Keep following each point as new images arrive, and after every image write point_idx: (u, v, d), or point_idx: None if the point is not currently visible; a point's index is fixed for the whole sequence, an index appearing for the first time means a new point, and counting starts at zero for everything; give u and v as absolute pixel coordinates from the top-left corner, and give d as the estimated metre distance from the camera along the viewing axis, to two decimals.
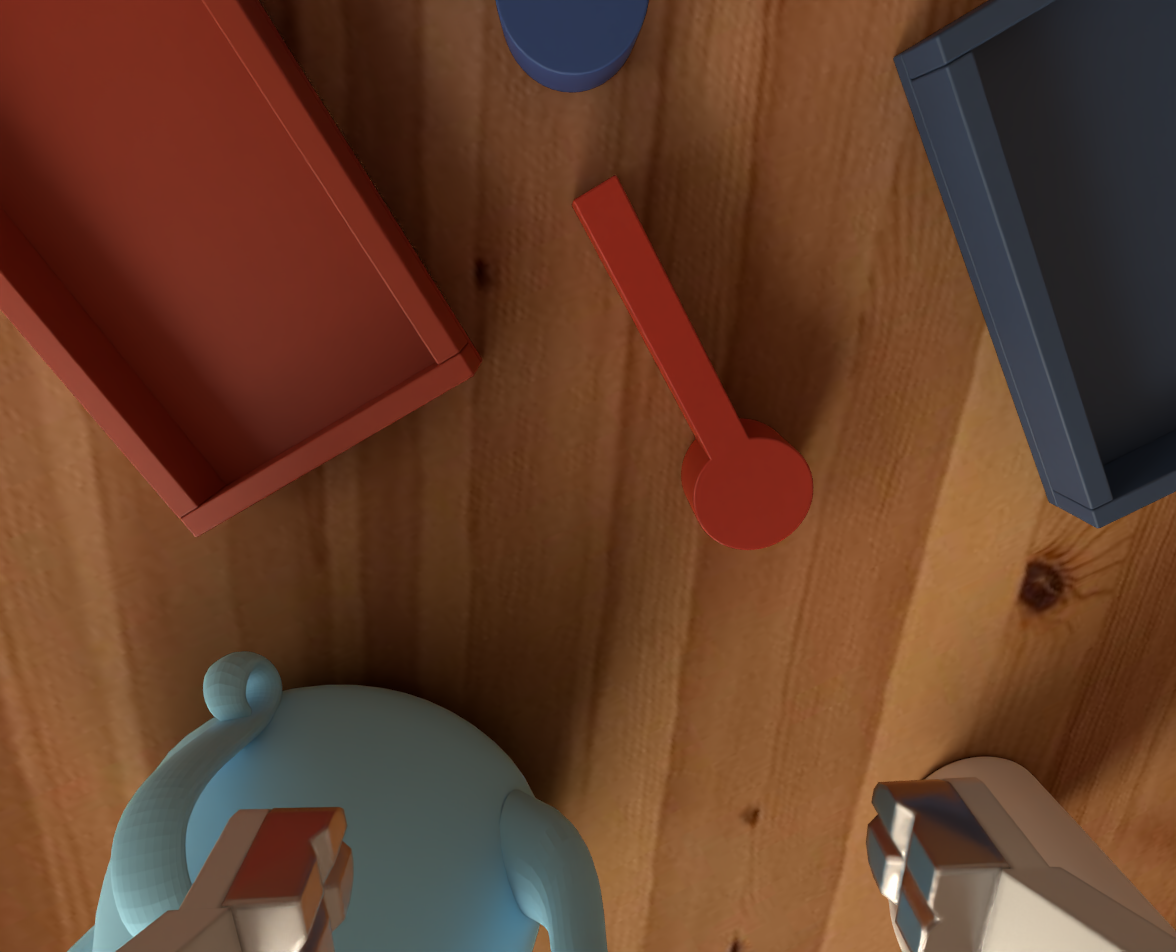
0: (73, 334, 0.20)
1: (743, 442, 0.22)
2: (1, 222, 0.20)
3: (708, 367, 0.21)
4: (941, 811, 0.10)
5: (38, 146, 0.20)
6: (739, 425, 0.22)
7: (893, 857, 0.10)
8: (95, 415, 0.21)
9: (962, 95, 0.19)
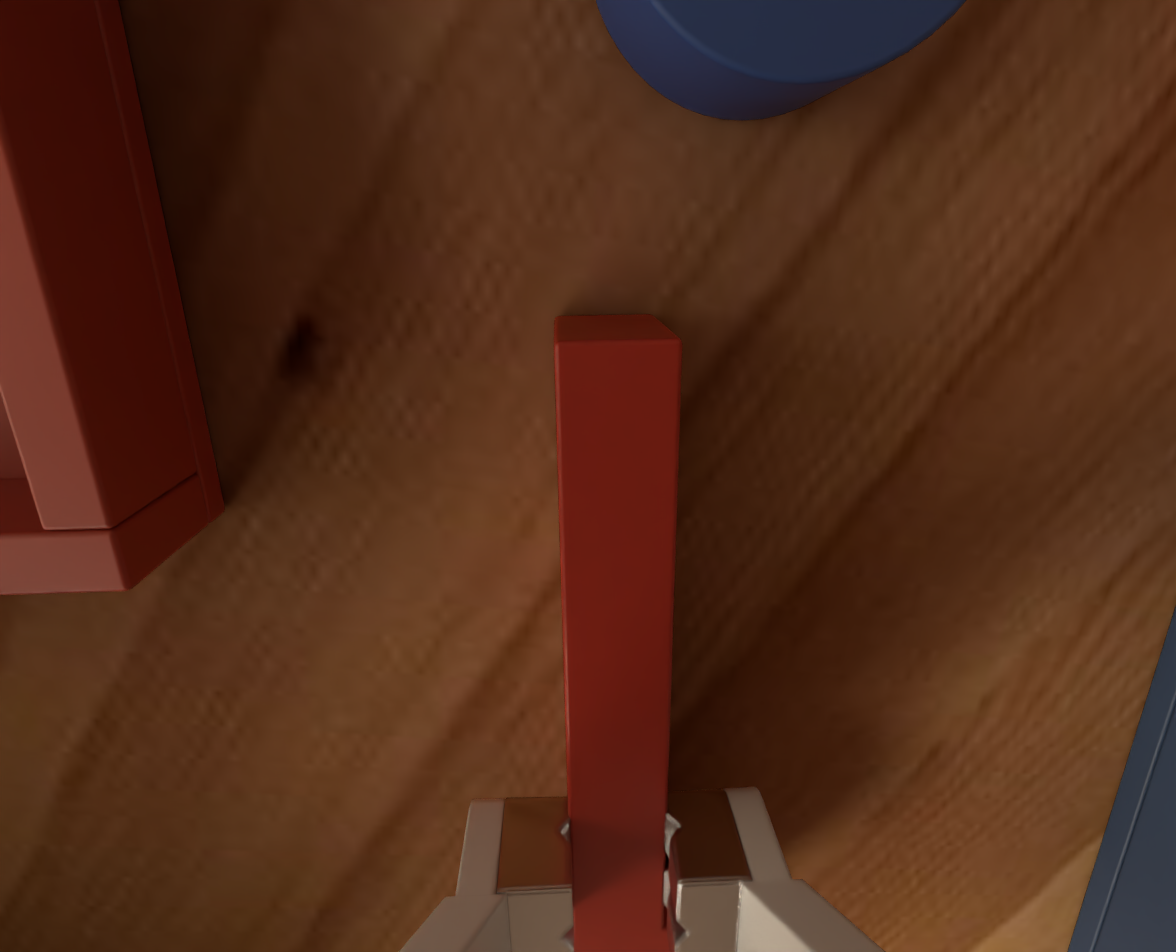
0: None
1: (649, 930, 0.10)
2: None
3: (659, 789, 0.09)
4: (705, 822, 0.09)
5: None
6: (658, 901, 0.10)
7: (668, 867, 0.10)
8: None
9: None
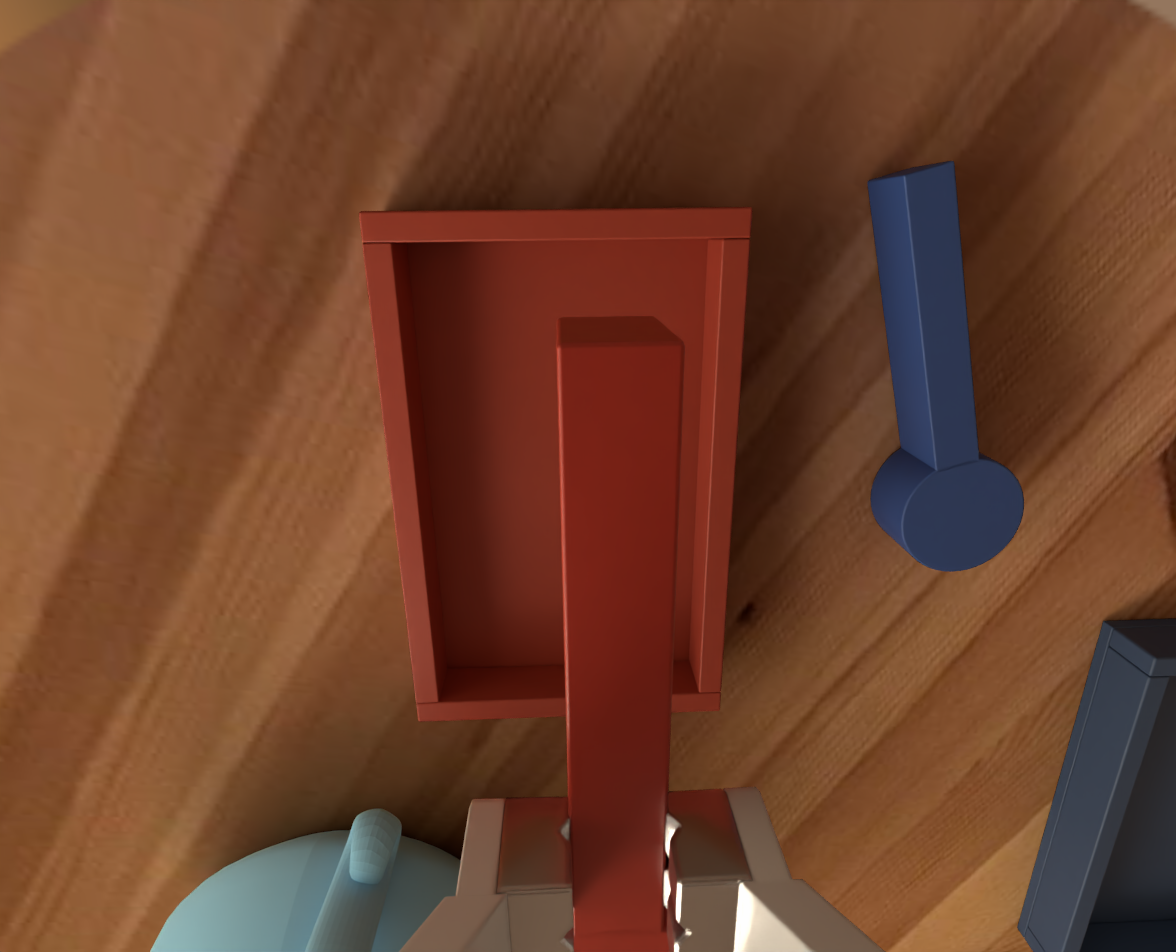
0: (426, 531, 0.22)
1: (649, 932, 0.10)
2: (420, 417, 0.22)
3: (659, 791, 0.09)
4: (705, 822, 0.09)
5: (486, 376, 0.22)
6: (658, 903, 0.10)
7: (669, 868, 0.10)
8: (408, 606, 0.22)
9: (1147, 697, 0.25)
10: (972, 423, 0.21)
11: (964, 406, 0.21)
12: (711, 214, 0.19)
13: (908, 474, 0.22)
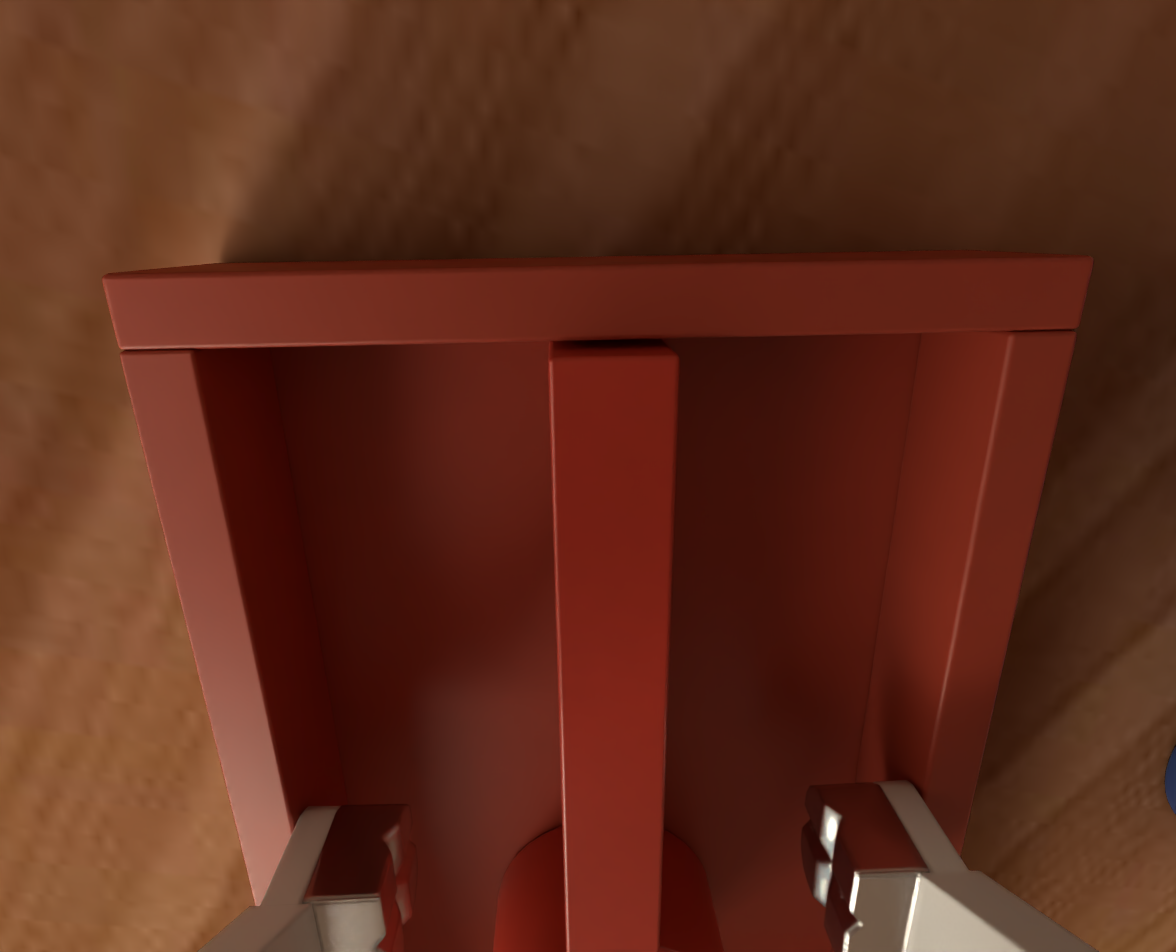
0: None
1: None
2: (313, 677, 0.11)
3: (655, 810, 0.09)
4: (867, 814, 0.10)
5: (449, 589, 0.11)
6: (654, 923, 0.10)
7: (823, 860, 0.10)
8: None
9: None
10: None
11: None
12: (993, 275, 0.07)
13: None
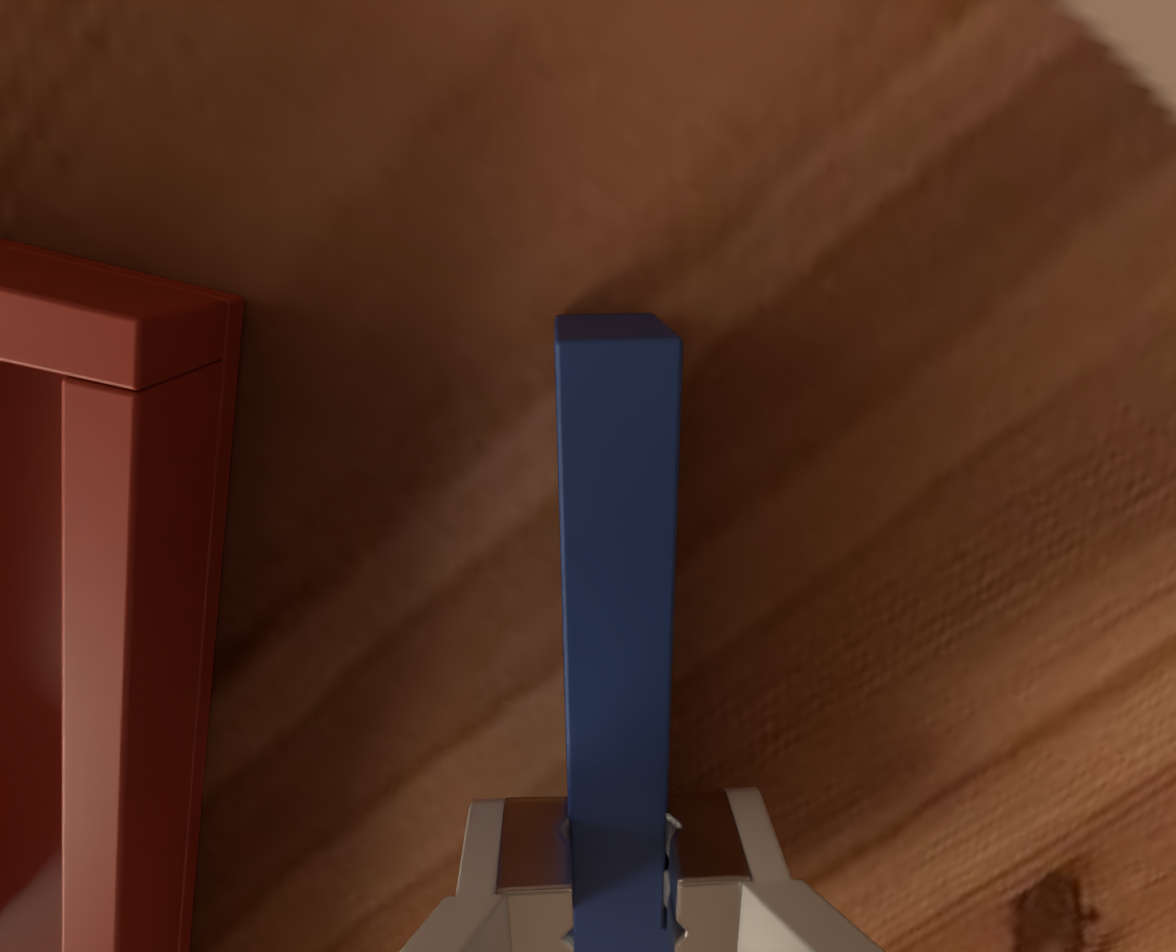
0: None
1: None
2: None
3: None
4: (705, 822, 0.09)
5: None
6: None
7: (668, 867, 0.10)
8: None
9: None
10: (655, 868, 0.10)
11: (642, 836, 0.10)
12: (21, 309, 0.07)
13: None
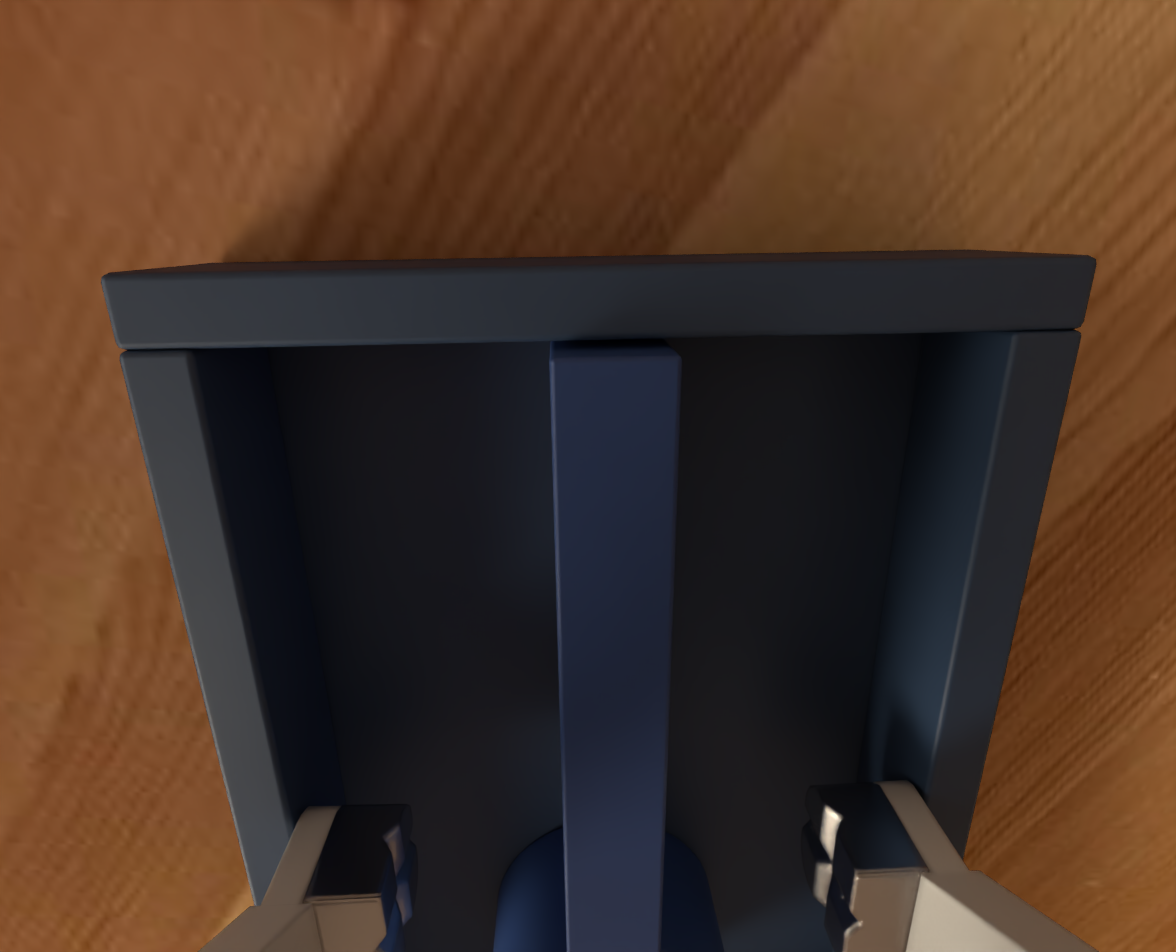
0: None
1: None
2: None
3: None
4: (867, 814, 0.10)
5: None
6: None
7: (823, 859, 0.10)
8: None
9: (153, 432, 0.08)
10: (653, 893, 0.10)
11: (639, 861, 0.09)
12: None
13: (534, 920, 0.11)
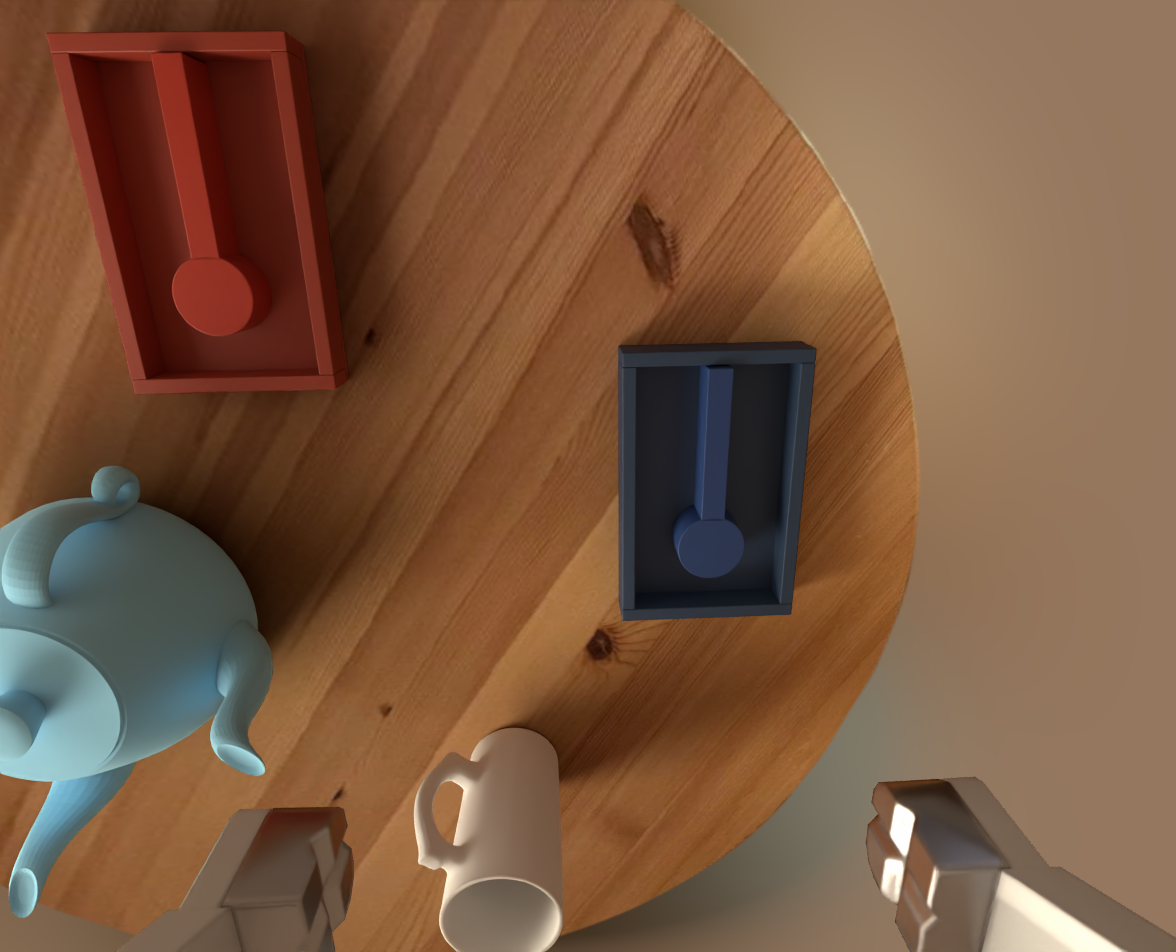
0: (126, 257, 0.35)
1: (215, 258, 0.34)
2: (117, 181, 0.34)
3: (205, 198, 0.33)
4: (941, 811, 0.10)
5: (160, 155, 0.34)
6: (215, 246, 0.34)
7: (894, 856, 0.10)
8: (115, 305, 0.35)
9: (625, 384, 0.37)
10: (723, 499, 0.39)
11: (720, 489, 0.39)
12: (259, 35, 0.31)
13: (689, 519, 0.41)
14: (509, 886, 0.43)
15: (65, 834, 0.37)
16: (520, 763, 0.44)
